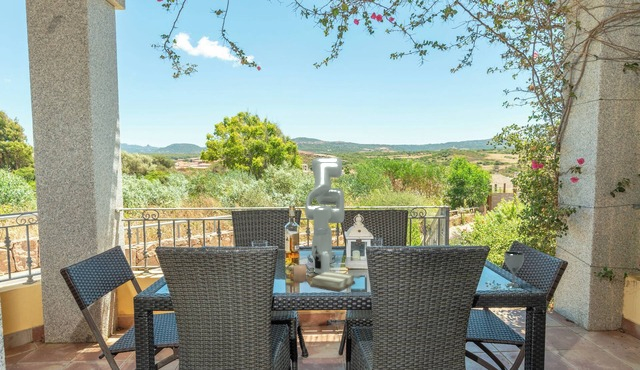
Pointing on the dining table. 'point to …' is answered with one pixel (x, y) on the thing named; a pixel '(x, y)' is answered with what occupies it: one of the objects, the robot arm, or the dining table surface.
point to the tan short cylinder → (300, 273)
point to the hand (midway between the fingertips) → (321, 266)
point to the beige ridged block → (333, 281)
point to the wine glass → (514, 263)
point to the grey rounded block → (323, 263)
